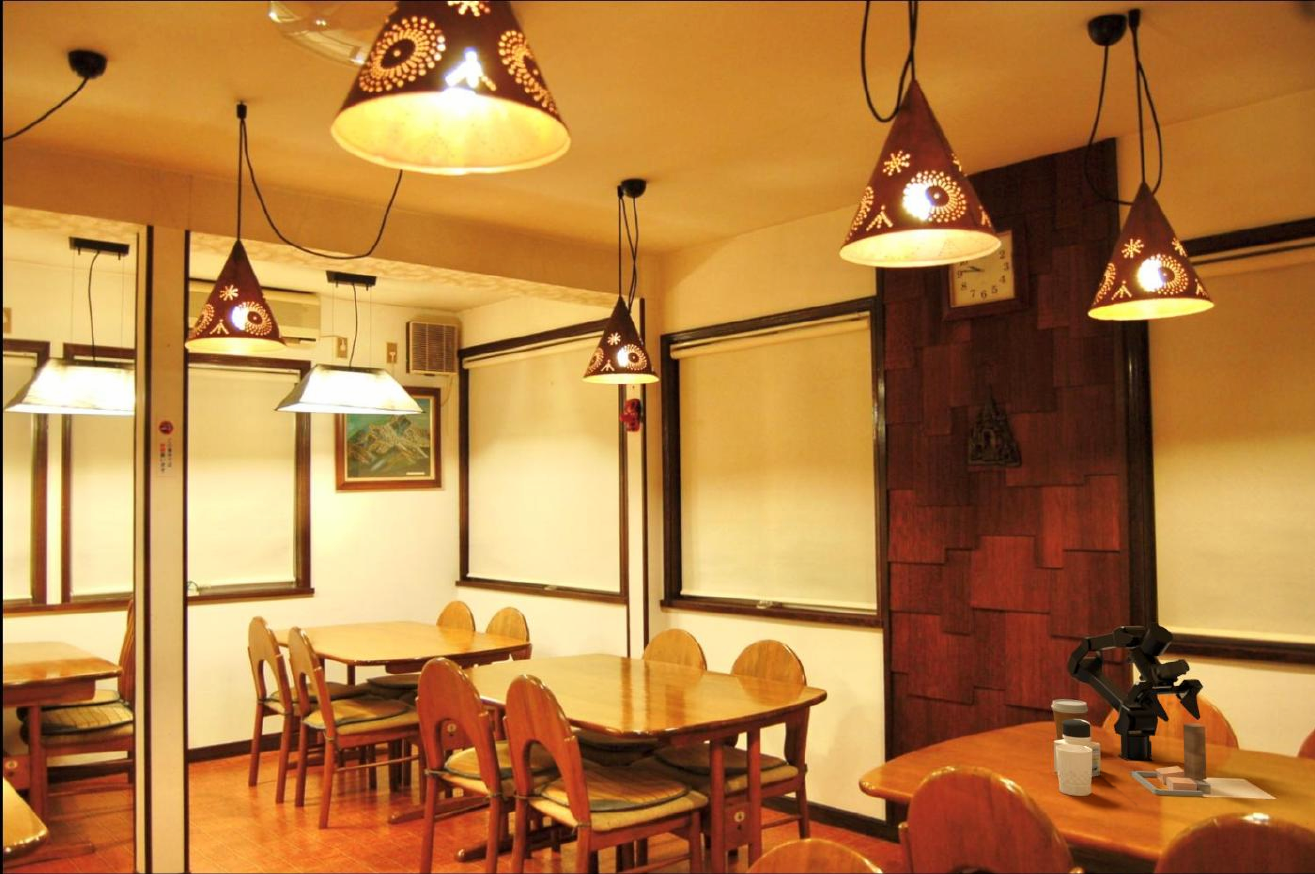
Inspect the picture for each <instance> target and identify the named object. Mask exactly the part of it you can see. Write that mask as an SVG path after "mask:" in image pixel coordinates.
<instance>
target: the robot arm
mask: <svg viewBox="0 0 1315 874" xmlns="http://www.w3.org/2000/svg"><path fill="white" fill-rule="evenodd" d="M1173 639H1174V636H1173V634H1172V632H1171V631H1169V630H1168V629H1167V628H1165V627H1164V626H1161V625H1159V623H1158V622H1157V621H1156V622H1149V624H1148V626H1147V628H1145V627H1144V626H1143V625H1133V626H1132V625H1127V626H1124V625H1123V626H1119V627H1117V628H1114V629H1113V630H1112V632H1111V633H1105V634H1101V635H1096V636H1095V635H1094V636H1085V637H1083V638H1082V639H1081V640H1080V644H1079V646H1077V647H1076V648H1075V649H1074V650H1073V651H1072V653H1071V654H1070V657H1069V660H1068V662H1067V667H1066V668H1067V672H1068V673H1069V675H1070V677H1071V678H1073V679H1074V680H1076V681H1077V682H1080V683H1082V684H1086V685H1088V686H1090V687H1091V689H1093V690H1094V691H1095V692H1096V693H1097V694H1098V695H1099V696H1100V697H1102V699H1104V701H1106V703H1108V704H1109V705H1110V706H1111V707H1112V708H1113V709H1114V710H1115V711H1116V712H1117V714H1118V715H1117V717H1118V719H1117V720H1116V722H1115V723H1114V724H1113V728H1114V733H1115V734H1116V735H1119V736H1120V753H1118V754H1117V756H1118V757H1120V758H1122V759H1124V760H1126V761H1129V762H1154V761H1155V760H1154V758H1152V756H1153V754H1152V753H1153V751H1152V750H1153V749H1152V741H1151V739H1150V738H1151V737H1155V736H1156V734H1157V733H1156V732H1157V728H1158V723H1159V719H1161V720H1163V721H1164V722H1166V723H1168V722H1169V720H1170V717H1169V716H1168V714H1167V712H1166V710H1165V709H1164V707H1163V705H1162V703H1161V701H1160V700H1159V698H1158V697H1159V696H1164V695H1165V696H1167V695H1175V697H1176V698H1177V699H1178V700H1179V703H1180V704H1181V706H1183V708H1184V709H1185V710H1186V711H1187V712H1188V713H1189V714H1191V716H1192V717H1193V718H1194V719H1196V721H1198V720H1200V719H1201V712H1200V709H1199V705H1198V697H1197V696H1198V694H1199V693H1200V692H1201V691H1202V689H1203V688H1204V685H1203V683H1201V681H1200V680H1199V679H1196V678H1187V679H1183V680H1182V681H1181V682H1180V683H1179V684H1178V685H1175V683H1177V682H1178V681H1179V678H1178V677H1181V676H1183V675H1187V674H1188V672H1190V669H1191V668H1190V665H1189V663H1188V661H1187V660H1186V659H1185V658H1181V659H1180V658H1179V659H1178V660H1175V661H1166V662H1164V663H1161V661H1160V660H1159V658H1158V657H1160V656H1162V655H1163V654H1164V652H1165V651H1166V649H1167V648H1168V647H1169V646H1170V644H1171V643H1172V642H1173ZM1115 648H1116V649H1117V648H1118V649H1132V650H1131V652H1128V653H1127V657H1126V664H1128V665H1129V664H1134V666H1135V667H1136V669H1137V671H1138V672H1139V674H1140V676H1139V677H1138V679H1139V681H1136V682H1135V683H1134V684H1133V685H1132V686H1131V688H1130V689H1129V690H1128V691H1127V694H1126V692H1124V691H1123V690H1122V689H1121V688H1119V686H1118V685H1116V684H1115V683H1114V682H1113V681H1112V680H1111V679H1110V678H1109V677H1108V676H1107V675H1105V674H1104V664H1105V658H1104V654H1103V651H1104V650H1105V651H1106V650H1109V649H1115ZM1090 652H1091V653H1092V652H1095V653H1096V654H1095V656H1093V657H1091V656H1089V657H1086V656H1087V655H1088V653H1090Z"/></svg>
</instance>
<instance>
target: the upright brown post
mask: <svg viewBox="0 0 1315 874" xmlns="http://www.w3.org/2000/svg"><path fill="white" fill-rule="evenodd" d="M1182 726H1183V728H1182V732H1183V760H1184V762H1183V764H1184V769H1183V771H1184V773H1185V777H1186V778H1190V779H1191V780H1193V781H1194V782H1195V783H1196V784H1197V791H1202V792H1203V794H1211V787H1210V784H1208V783H1207V782H1206V781H1204V780H1203V779H1207V778H1208V777H1207V753H1206V752H1207V751H1206V748H1207V747H1206V745H1207V744H1206V726H1204V725H1202V724H1198V723H1183V725H1182Z"/></svg>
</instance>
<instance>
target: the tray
mask: <svg viewBox="0 0 1315 874" xmlns="http://www.w3.org/2000/svg"><path fill="white" fill-rule="evenodd" d="M1130 776H1131V777H1133V778H1134V779H1135V780H1136V781H1138V782H1139V783H1140V784H1142V785H1143V786H1144V787H1145V788H1146V789H1148V790H1149V791H1151V793H1153V794H1154V795H1155V796H1174V797H1175V796H1178V797H1199V798H1200V797H1203V792H1202V791H1191V790H1170V789H1162V788H1161V789H1160V788H1157V787H1156V786H1155V785H1153V784H1152V783H1151V782H1149V781H1148V780H1147V779H1146V778H1144V777H1148V778H1158V777H1157V772H1156V771H1147V770H1131V771H1130ZM1203 798H1204V797H1203Z"/></svg>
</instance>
